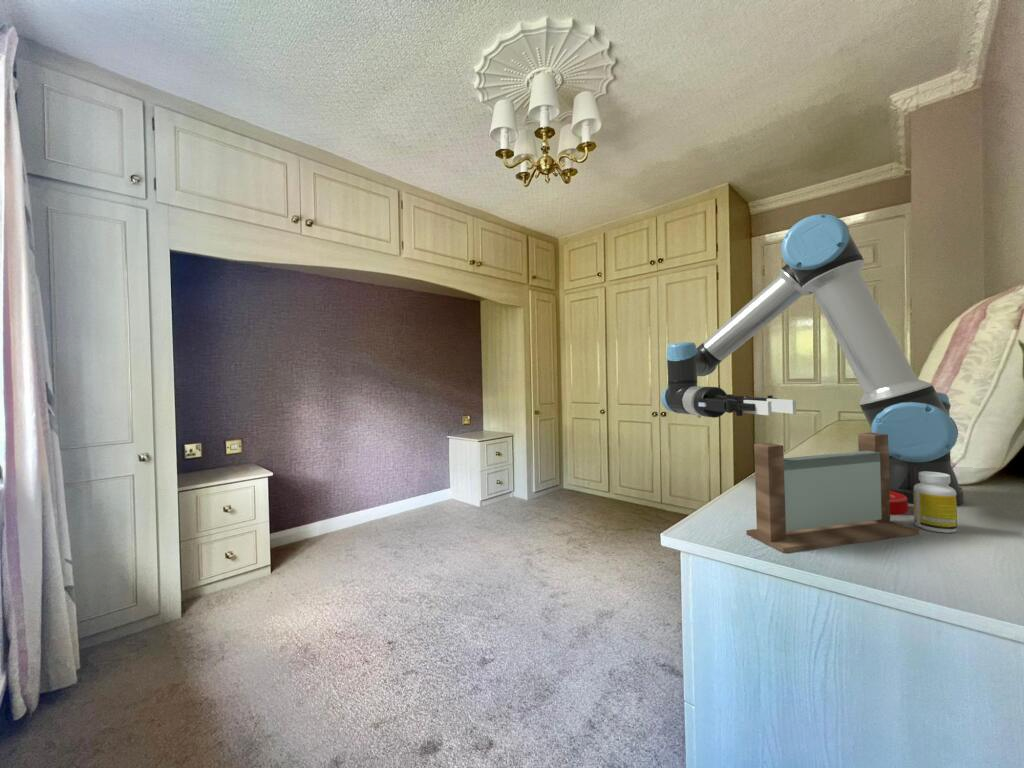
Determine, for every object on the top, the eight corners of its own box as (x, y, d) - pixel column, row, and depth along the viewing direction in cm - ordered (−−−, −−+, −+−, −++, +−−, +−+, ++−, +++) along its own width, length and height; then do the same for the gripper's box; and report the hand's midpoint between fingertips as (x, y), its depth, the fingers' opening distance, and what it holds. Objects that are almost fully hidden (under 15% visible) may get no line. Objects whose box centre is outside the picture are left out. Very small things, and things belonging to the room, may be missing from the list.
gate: (870, 515, 76) (868, 450, 76) (881, 519, 74) (879, 452, 74) (776, 527, 72) (773, 459, 72) (785, 531, 70) (783, 461, 70)
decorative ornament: (834, 504, 90) (834, 489, 90) (869, 499, 92) (869, 485, 92) (883, 518, 80) (882, 502, 80) (920, 512, 82) (920, 497, 82)
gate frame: (870, 518, 80) (868, 432, 79) (918, 534, 72) (916, 437, 71) (746, 534, 74) (743, 441, 74) (783, 552, 67) (780, 449, 66)
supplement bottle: (966, 534, 71) (965, 477, 71) (929, 533, 72) (927, 477, 72) (940, 523, 76) (939, 470, 76) (906, 522, 77) (905, 470, 77)
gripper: (737, 414, 106) (821, 423, 83) (673, 418, 102) (742, 429, 80) (736, 385, 106) (820, 386, 83) (672, 388, 102) (741, 390, 79)
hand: (781, 407), depth 81 cm, fingers open, 5 cm apart
